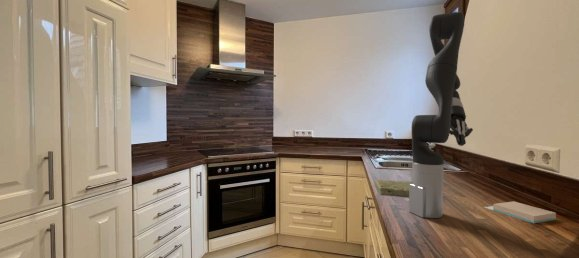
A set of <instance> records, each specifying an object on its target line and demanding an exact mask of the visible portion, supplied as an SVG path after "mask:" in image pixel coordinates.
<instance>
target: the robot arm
mask: <svg viewBox="0 0 579 258" xmlns="http://www.w3.org/2000/svg"><path fill="white" fill-rule="evenodd" d="M429 21H430V22H429V27H428V28H429V31H428V32H429V37H430V42H431V46H432V50H433V54H434V56H433V58H432V59H431V60H430V62H429V63H428V65H427V69H426V75H425V86H426V88H427V90H428V92H429V93H430V94H431V95H432V97H433V98H434V100H435V102H436V104H437V107H438V114H419V115H418V114H417V115H415V116H414V117H413V119H412V122H411V156H412V167H411V168H412V171H411V174H412V175H411V176H412V178H411V182H412V184H410V190H409V197H408V198H409V200H408V204H409V205H408V208H409V209H408V211H409V213H411V214H414V215H416V216H417V217H420V218H429V219H438V218H439V219H440V218H441V217H443V200H444V199H443V198H444V197H443V195H444V162H445V160H444V159H445V158H444V156H443V155H442V154H440V153H439V152H437V151H434V150H432V149H430V148H429V147H428V146H427V145H426V143H432V144H445V143H446V142H447V141H448V140H449V137H450V136H452V135H453V137H454V138H455V141H456V143H457V145H458V146H460V147H462V146H464V145H466V143H467V141H466V138H467V137H469V136H470V135H471V133H472V132H473V131H474V129H473V128H472V127H470V128H469V127H468V125H467V123H466V119H467V115H466V112H465V109H464V108H465V107H464V105H463V102H462V99H461V97H460V94H459V92H458V89H459V88H460V86H461V79H460V78H459V76H458V73H457V72H458V64H459V63H458V62H459V51H460V46H461V42H462V38H463V33H464V29H465V14H464V13H463V12H461V11H455V12H454V11H452V12H446V13H441V14H435V15H433V16H432V17H431V18H430V20H429ZM442 40H448V42H447V43H446V45H445V44H444V43H443V41H442Z"/></svg>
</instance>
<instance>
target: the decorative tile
mask: <svg viewBox="0 0 579 258" xmlns="http://www.w3.org/2000/svg"><path fill="white" fill-rule="evenodd" d="M410 184H412V181H406V180H405V181H404V180H383V179H376V180H374V187H375V188H377V189H376V191H377V192H378V194H379V195H380V196H383V195H384V196H396V197H406V198H409V190H410Z"/></svg>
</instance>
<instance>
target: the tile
mask: <svg viewBox="0 0 579 258" xmlns="http://www.w3.org/2000/svg"><path fill="white" fill-rule="evenodd" d="M492 206H493V210H492V211H494V212H498V213H500V214H503V215H506V216H509V215H510V217H512V216H513V218H515V217H516V219H518V218H519V219H518V220H521V219H522V221H525V222H528V223H532V224H538V223H544V222H550V221H551V222H552V221H555V220H556V219H557V212H554V211H551V210H546V209H543V208H539V207H536V206H531V205H528V204H525V203H521V202H518V201H506V202H497V203H493V204H492Z"/></svg>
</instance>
